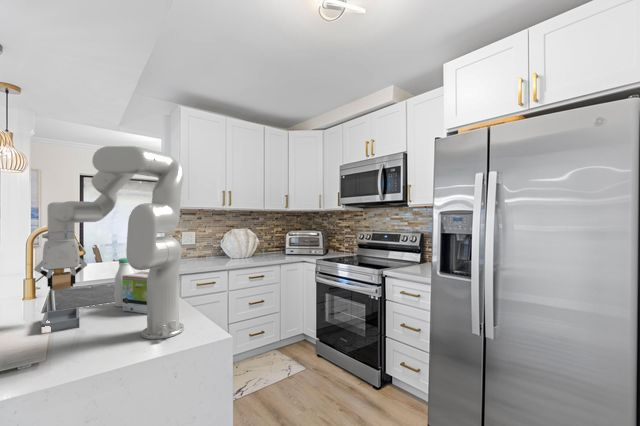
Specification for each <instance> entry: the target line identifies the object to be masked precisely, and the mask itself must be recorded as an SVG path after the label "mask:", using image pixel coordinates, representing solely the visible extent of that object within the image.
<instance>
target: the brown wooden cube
mask: <svg viewBox="0 0 640 426" xmlns="http://www.w3.org/2000/svg"><path fill="white" fill-rule="evenodd" d="M71 288H72V287H71V271H64V272H63V273H62V274H55V273H54V272H52V289H51V291H60V290H69V289H71Z"/></svg>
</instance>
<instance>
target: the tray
mask: <svg viewBox="0 0 640 426" xmlns="http://www.w3.org/2000/svg"><path fill="white" fill-rule="evenodd" d="M43 314H44V315H43V318H42V319H41V323H40V328H41V327H45V326H50V327H51V333H57V332H62V331H66V330H67V331H68V330H74V329H78V328H80V307H79V306H77V307H71V308H63V309H58V310H57V309H56V310H50V311H45V312H44V313H43ZM47 320H48V321H50V323H46V321H47ZM51 333H50V334H51Z"/></svg>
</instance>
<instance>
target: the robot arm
mask: <svg viewBox="0 0 640 426" xmlns="http://www.w3.org/2000/svg"><path fill="white" fill-rule="evenodd" d="M91 162H92V166H93V167H94V169H96V170H97V173H95V174H94V175H93V176H92V178H91V181H90V182H91V185H92V186H93V188H94V189H95V190H96V191H97V192H99V193H100V195H99V196H98V197H97V198H96V199H95V200H93V201H85V200H84V201H83V200H82V201H81V200H80V201H78V200H77V201H75V200H73V201H72V200H71V201H70V200H69V201H63V202H62V201H60V202H59V201H56V202H55V201H54V202H49V203H48V204H47V233H42V235H41V238H42V239H46V240H47V241H46V240H45V241H44V243H43V249H42V259H41V261H40V262H39V263H38V264H37V265H35V267H34V268H33V270H34V271H35V272H38V274H41V275H42V276H44V277H46V279H47V288H49V289H50V290H52V275H53V273H54V272H53V270H54V269H64V270H66V269H69V270H70V272H71V288H73V287H74V285H75V284H76V275H77V274H78V273H79V272H80V271H82V270H83V269H84V268H86V267H87V266H88V263H87V262H86V261H84V259H82V258H81V257H80V248H79V242H78V239H76V238H75V237H76V236H75V229H76V228H75V223H77V224H78V223H96V222H99V221H101V220H103V219H104V218H105V217H107V216H108V215H109V214H110V213H111V212H112V210H114V208H115V206H116V204H117V198H118V197H117V193H118V192H119V191H120V190H121V189H122V188H124V186H125V185H126V184H127V183H128V182H129V181H130V180H131V179H132V178H133V177H134V176H135V175H138V176H147V177H153V178H157V179H158V180H157V181H156V182H155V184H154V186H153V188H152V193H151V195H152V199H151V203H150V202H149V203H140V204H138V205H136V206H135V207H134V208H133V209H132V210H131V211H130V214H129V217H128V221H127V232H126V234H127V235H126V249H125V251H126V258H127V260H128V263H129V264H130V266H131V268H132V269H134V270H137V271H145V270H147V271H148V270H149V271H148V272H149V273H148V277H147V314H146V327H145V328H144V329H142V331H141V337H142V338H144V339H147V340H161V339H166V338H171V337H175V336H177V335H180V334H181V333H182V332H183V331H184V330H185V325H184V324H183V323H181V322H180V265H181V260H182V252H183V251H182V250H183V249H182V245H181V244H180V242H179V241H178V239H176V238H175V237H171V236H168V235H167V236H164V235H163V236H158V234H165V233H171V232H174V231H175V230H177V228H178V226H179V224H180V219H181V218H180V213H181V203H182V202H181V201H182V187H183V182H184V169H183V167H182V164H181V163H180V162H179V160H177V159H176V158H174V157H173V156H171V155H169V154H167V153H164V152H160V151H156V150H152V149H148V148H145V147H140V146H135V145H130V146H129V145H128V146H127V145H124V146H123V145H121V146H119V145H116V146H114V145H113V146H112V145H109V146H103V147H100V148H98V149H97V150H96V151H95V152H94V154H93V155H92V161H91ZM47 270H48V271H47Z"/></svg>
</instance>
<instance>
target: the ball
mask: <svg viewBox="0 0 640 426" xmlns="http://www.w3.org/2000/svg"><path fill="white" fill-rule="evenodd" d="M63 272H65V269H54V270H53V272H52V273H55V274H62V273H63Z"/></svg>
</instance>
